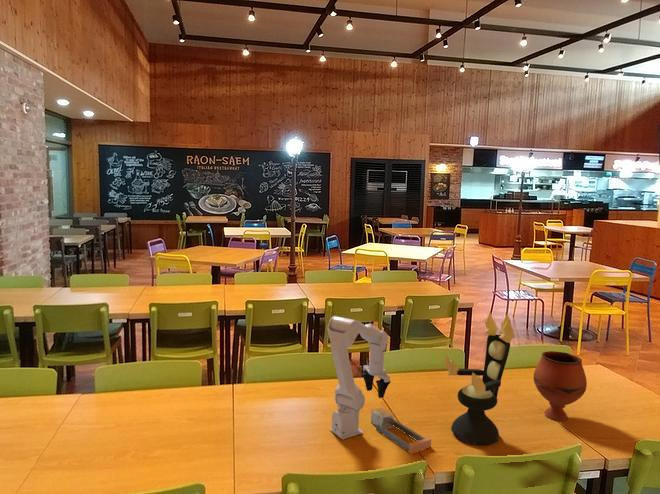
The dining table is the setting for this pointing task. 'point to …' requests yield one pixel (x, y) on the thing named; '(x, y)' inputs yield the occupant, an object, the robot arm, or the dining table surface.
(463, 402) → the spiked throne chair
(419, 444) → the guide rails
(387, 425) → the lock block
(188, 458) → the dining table surface
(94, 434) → the dining table surface
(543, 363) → the goblet
